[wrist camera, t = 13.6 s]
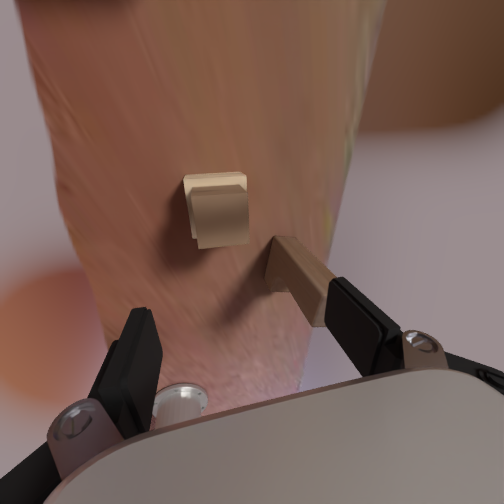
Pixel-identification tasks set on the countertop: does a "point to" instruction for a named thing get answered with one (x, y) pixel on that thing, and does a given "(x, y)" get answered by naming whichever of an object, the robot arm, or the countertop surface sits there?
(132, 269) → the countertop surface
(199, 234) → the walnut cube
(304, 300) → the wooden block
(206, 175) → the oak block
